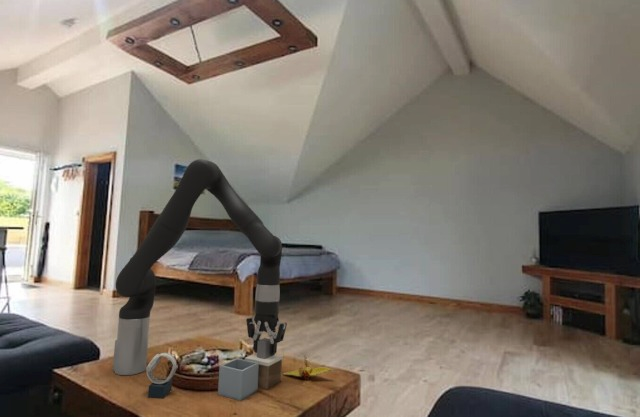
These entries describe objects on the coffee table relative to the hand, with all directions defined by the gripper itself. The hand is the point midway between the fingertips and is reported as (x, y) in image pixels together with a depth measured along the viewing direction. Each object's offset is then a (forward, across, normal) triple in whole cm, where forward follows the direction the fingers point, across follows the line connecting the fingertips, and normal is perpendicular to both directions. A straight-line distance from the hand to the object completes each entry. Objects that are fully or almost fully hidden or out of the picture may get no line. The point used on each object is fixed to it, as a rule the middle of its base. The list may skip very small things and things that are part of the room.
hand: (264, 353), depth 120 cm
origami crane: (+9, +10, +11) cm, 17 cm away
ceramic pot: (+9, -2, -10) cm, 14 cm away
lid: (+2, 0, 0) cm, 2 cm away
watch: (+9, -20, -22) cm, 31 cm away
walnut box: (+9, 0, 0) cm, 9 cm away
